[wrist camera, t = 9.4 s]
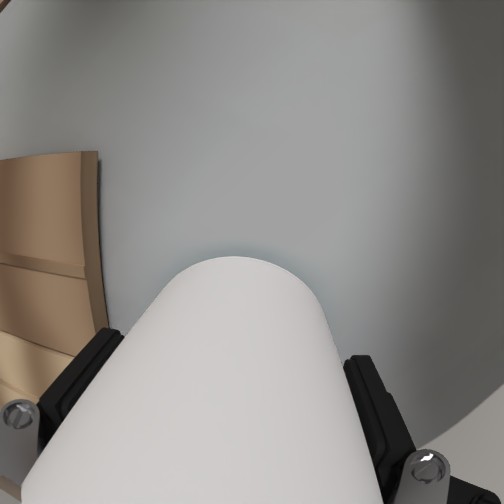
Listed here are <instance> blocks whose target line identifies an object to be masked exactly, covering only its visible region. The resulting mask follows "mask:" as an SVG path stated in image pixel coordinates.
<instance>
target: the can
mask: <svg viewBox="0 0 504 504" xmlns="http://www.w3.org/2000/svg"><path fill="white" fill-rule="evenodd" d="M20 487H21V498H22V503H21V504H383V500H382V496H381V492H380V489H379V485H378V481H377V477H376V474H375V470H374V467H373V463H372V460H371V456H370V453H369V449H368V446H367V442H366V439H365V436H364V432H363V429H362V426H361V423H360V419H359V416H358V413H357V410H356V407H355V403H354V400H353V397H352V394H351V391H350V388H349V385H348V382H347V379H346V376H345V373H344V370H343V367H342V364H341V361H340V358H339V355H338V352H337V349H336V346H335V343H334V340H333V338H332V335H331V332H330V329H329V326H328V323H327V321H326V318H325V315H324V313H323V310H322V307H321V306H320V304H319V302H318V300H317V298H316V297H315V295H314V294H313V293H312V292H311V290H310V289H309V288H308V287H307V286H306V285H305V284H304V283H303V282H302V281H301V280H300V279H298V278H297V277H296V276H294V275H293V274H291V273H290V272H288V271H287V270H285V269H283V268H281V267H279V266H277V265H274V264H272V263H269V262H266V261H263V260H259V259H254V258H249V257H238V256H236V257H219V258H214V259H209V260H206V261H202V262H199V263H197V264H195V265H192V266H190V267H188V268H187V269H185V270H183V271H182V272H180V273H179V274H178V275H176V276H175V277H174V278H173V279H172V280H171V281H170V282H169V283H168V284H167V285H166V286H165V287H164V289H163V290H162V291H161V292H160V294H159V295H158V296H157V297H156V299H155V300H154V301H153V302H152V304H151V305H150V306H149V307H148V309H147V310H146V311H145V312H144V314H143V315H142V316H141V317H140V319H139V320H138V321H137V322H136V324H135V325H134V326H133V328H132V329H131V330H130V331H129V333H128V334H127V335H126V337H125V338H124V339H123V341H122V342H121V343H120V344H119V346H118V347H117V348H116V350H115V351H114V352H113V354H112V355H111V356H110V358H109V359H108V360H107V362H106V363H105V364H104V366H103V367H102V368H101V370H100V371H99V372H98V374H97V375H96V376H95V378H94V379H93V380H92V382H91V383H90V384H89V386H88V387H87V389H86V390H85V391H84V393H83V394H82V395H81V397H80V398H79V400H78V401H77V402H76V404H75V405H74V407H73V408H72V409H71V411H70V412H69V414H68V415H67V417H66V418H65V419H64V421H63V422H62V424H61V425H60V427H59V428H58V430H57V431H56V432H55V434H54V435H53V437H52V438H51V440H50V441H49V443H48V444H47V446H46V447H45V449H44V450H43V452H42V453H41V455H40V456H39V458H38V459H37V461H36V462H35V464H34V466H33V467H32V469H31V470H30V472H29V473H28V475H27V476H26V478H25V480H24V481H23V483H22V484H21V486H20Z"/></svg>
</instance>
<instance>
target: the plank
mask: <svg viewBox="0 0 504 504" xmlns="http://www.w3.org/2000/svg"><path fill="white" fill-rule="evenodd" d="M97 160H98V151H82V152H68V153H56V154H46V155H37V156H28V157H20V158H13V159H6V160H0V329H1V330H3V331H6V332H8V333H11V334H13V335H16V336H18V337H21V338H23V339H26V340H29V341H31V342H34V343H37V344H39V345H42V346H45V347H48V348H51V349H54V350H57V351H60V352H63V353H66V354H70V355H73V356H77V354H78V353H79V352H80V351H81V350H82V349H83V348H84V347H85V346H86V345H87V343H88V342H89V341H90V340H91V339H92V338H93V337H94V336H95V335H96V334H97V333H98V332H99V330H100V329H101V328H103V327H106V328H109V326H108V320H107V314H106V307H105V300H104V292H103V284H102V274H101V264H100V252H99V238H98V216H97Z"/></svg>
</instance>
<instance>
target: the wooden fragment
mask: <svg viewBox="0 0 504 504" xmlns="http://www.w3.org/2000/svg"><path fill="white" fill-rule="evenodd" d="M9 1H10V0H0V11H1V10H2V9H3V8H4V6H5V5H6V4H7V3H8V2H9Z"/></svg>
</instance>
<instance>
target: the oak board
mask: <svg viewBox="0 0 504 504" xmlns="http://www.w3.org/2000/svg"><path fill="white" fill-rule="evenodd" d="M75 357H76V356H73V355H70V354H66V353H63V352H60V351H57V350H54V349H51V348H48V347H45V346H42V345H39V344H37V343H34V342H31V341H29V340H26V339H23V338H21V337H18V336H16V335H13V334H11V333H8V332H6V331H3V330H1V329H0V411H1V409H2V407H3V406H4V405H5V404H7V403H8V402H10V401H12V400H15V399H26V400H29V401H31V402H33V403H34V404H35V405H36V404H37V403H38V402H39V398H40V397H41V396H42V395H43V393H44V392H45V391H46V390H47V389H48V388H49V386H50V385H51V384H52V383H53V382H54V381H55V379H56V378H57V377H58V376H59V375H60V374H61V372H62V371H63V370H64V369H65V368H66V367H67V366H68V365H69V363H70V362H71V361H72V360H73V359H74V358H75Z"/></svg>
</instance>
